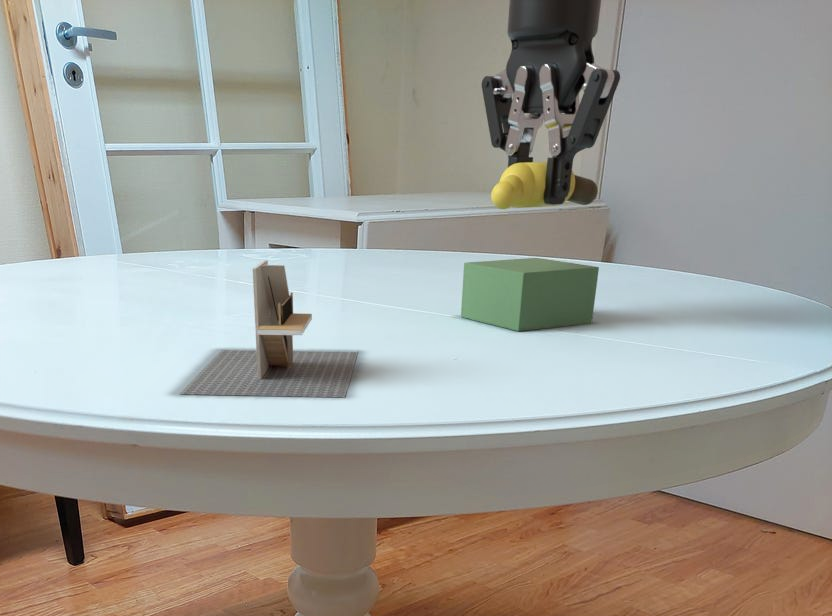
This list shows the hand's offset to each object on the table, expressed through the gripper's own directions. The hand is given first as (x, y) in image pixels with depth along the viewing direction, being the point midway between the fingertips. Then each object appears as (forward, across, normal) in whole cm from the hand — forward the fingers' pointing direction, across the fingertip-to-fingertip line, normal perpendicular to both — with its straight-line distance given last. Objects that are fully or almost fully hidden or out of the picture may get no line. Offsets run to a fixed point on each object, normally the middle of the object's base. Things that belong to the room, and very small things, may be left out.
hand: (535, 202), depth 81 cm
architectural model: (+11, -3, +32) cm, 34 cm away
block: (+10, 0, 0) cm, 10 cm away
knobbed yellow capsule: (0, +1, 0) cm, 1 cm away
